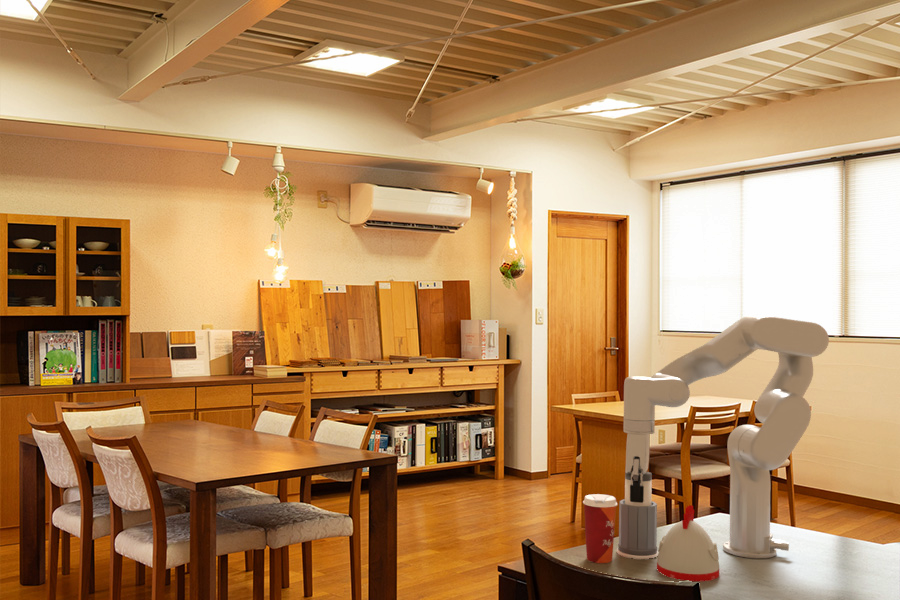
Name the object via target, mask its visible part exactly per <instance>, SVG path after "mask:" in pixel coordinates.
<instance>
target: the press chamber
mask: <svg viewBox="0 0 900 600" xmlns="http://www.w3.org/2000/svg"><path fill="white" fill-rule="evenodd" d="M618 506H619V511H618V513H619V515H618V518H619V519H618V522H619V523H618V545H617V548H616V553H617V555H619V556H621V557H624V558H625V559H626V558H627V559H631V558H633V560H641V559H645V560H650V559H649V558H653V559H655V558H654V557H656V558H658V557H657V556H658V554H659V552H658V550H659V549H658V547H657V546H658V545H657V537H658V536H657V531H658V530H657V527H658V525H657V524H658V520H657V519H658V513H657V512H658V504H657V503H656V501H653V500H651V506H631V505H627V504H625V498H624V499H621V500H619V505H618Z"/></svg>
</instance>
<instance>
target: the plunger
mask: <svg viewBox="0 0 900 600" xmlns="http://www.w3.org/2000/svg"><path fill="white" fill-rule="evenodd" d="M624 473H625V474H624V499H625V504H627V505H631V506H651V501H652V491H653V490H652V487H653V486H652V483H653V482H652V481H653V479H652V477H653V474H652V472H649V471H647V472H646V473H645V474H644V475H643V485H642V486H644V501H643V503H639V502H631V501H630V485H631V471H630V472H629V473H626V472H624ZM639 473H641V471H639Z"/></svg>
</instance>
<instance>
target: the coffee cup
mask: <svg viewBox="0 0 900 600" xmlns="http://www.w3.org/2000/svg"><path fill="white" fill-rule="evenodd" d="M582 503H583V507H584V509H583V510H584V527H585V531H584V532H585V549H586V560H587V561H588V562H591V563H595V564H610V563H611V562H612V561H613V555H614V542H615V541H614V540H615V539H614V538H615V526H616V511H617V506H618V501H617V499H616V497H615V496H613V495H609V494H600V493H597V494H595V493H593V494H588V495H587V494H586V495H585V496H584V500H583V501H582Z"/></svg>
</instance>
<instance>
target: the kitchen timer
mask: <svg viewBox="0 0 900 600" xmlns="http://www.w3.org/2000/svg"><path fill="white" fill-rule="evenodd" d="M694 518H695V509H694V505H692V504H691V505H690V504H689V505H686V507H685V513H683V519H682V520H681V521H679V522H677V523H675V524H674V525H673V526H671V528H670V529H669V530H668V531H667V533H666V534H665V535H663V536H662V538H661V540H660V541H659V544H658V545H659V547H658V549H657V550H658V557H656V570H657V569H658V570H657V572H658V571H659V572H661V573H662V574H664V575H663V576H665V575H666V576H665V577H667V576H668V577H667V578H670V577H671V578H670V579H674V578H675V580H678V579H680V581H684V580H689V581H688V582H707V581H708V582H709V581H713V580H716V579H717V578H719V577H720V562H719V561H720V560H719V559H720V558H719V557H720V556H719V552H718V547H717V542H715V543H714V542H713V540H712V539H711V537H710V535H709V534H708V532H707V531H706V529H704V527H702V526H701V525H700V524H699V523H698V522H695V521H694ZM659 572H658V573H659ZM661 573H660V574H661ZM662 574H661V575H662Z"/></svg>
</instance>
